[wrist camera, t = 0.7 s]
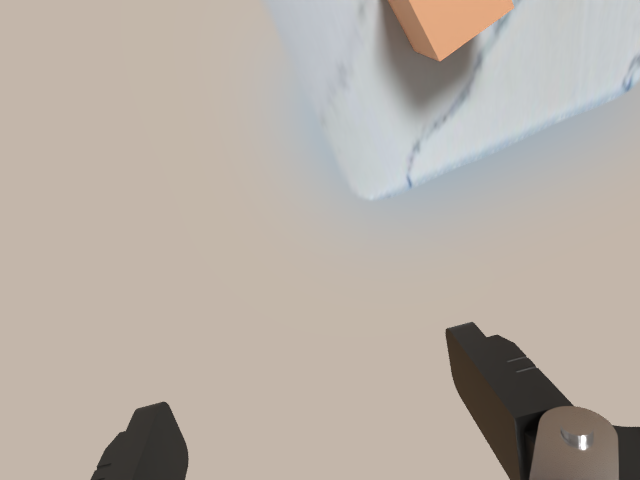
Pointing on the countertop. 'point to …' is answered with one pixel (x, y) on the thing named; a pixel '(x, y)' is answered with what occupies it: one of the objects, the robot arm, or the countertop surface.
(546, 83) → the countertop surface
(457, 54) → the countertop surface
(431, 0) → the block
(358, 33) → the countertop surface
